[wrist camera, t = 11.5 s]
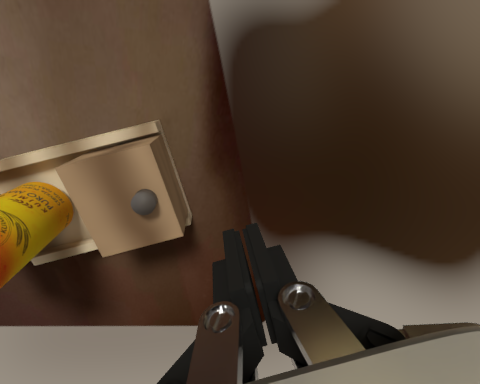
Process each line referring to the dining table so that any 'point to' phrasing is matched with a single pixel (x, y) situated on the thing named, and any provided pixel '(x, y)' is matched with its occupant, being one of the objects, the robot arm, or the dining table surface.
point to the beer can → (29, 223)
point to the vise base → (43, 170)
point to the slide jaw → (127, 195)
